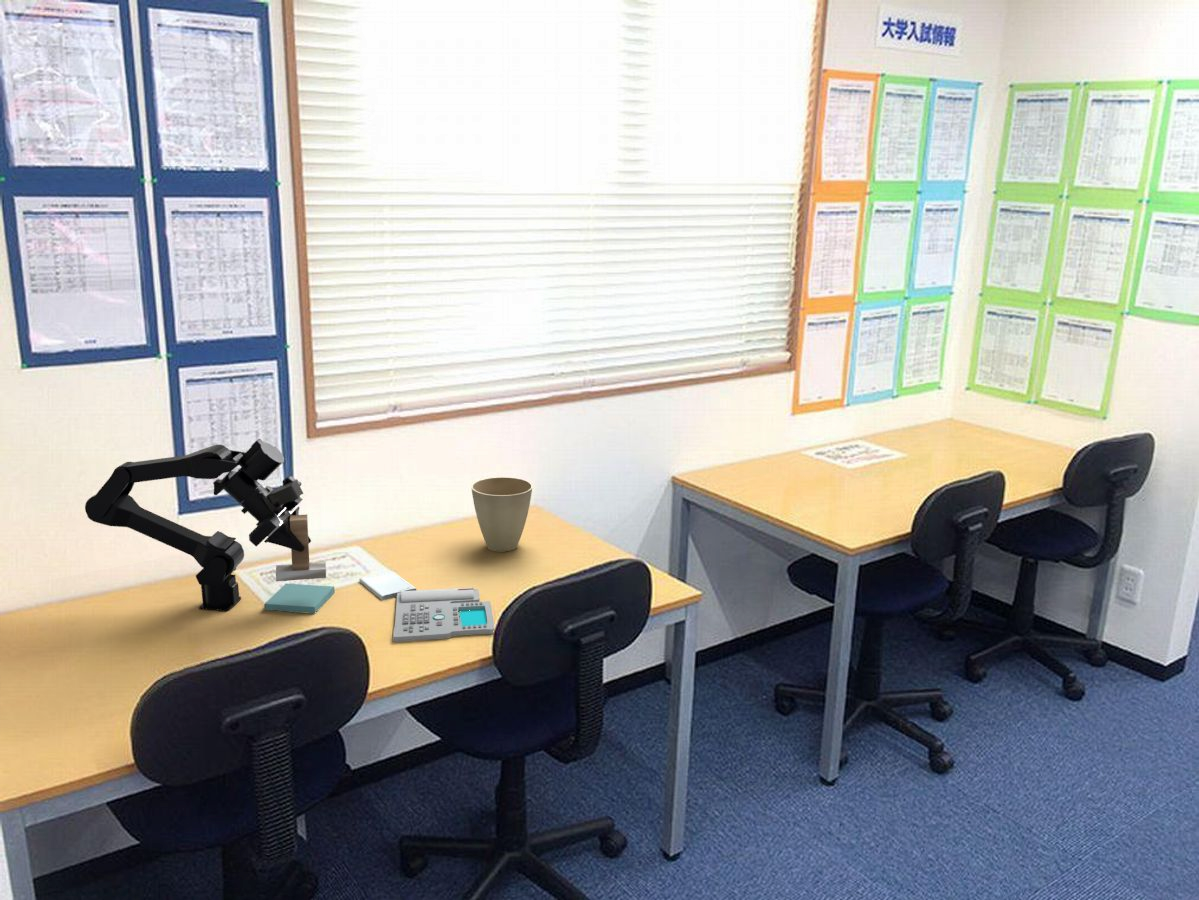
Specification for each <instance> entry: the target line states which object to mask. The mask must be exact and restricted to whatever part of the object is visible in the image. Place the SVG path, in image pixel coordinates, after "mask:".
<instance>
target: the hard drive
mask: <svg viewBox="0 0 1199 900" xmlns="http://www.w3.org/2000/svg"><path fill="white" fill-rule="evenodd" d="M358 580H359V583H361V584H362V585H363V586H364V587H365V588H366V589H367V590H369V591H370V592H371V593H372V594H373V595H375V596H377V598H379V599H380V600H381V601H385V600H388V599H393V598H397V593H399V592H402V591H416V590H417V588H416V587H414V586H413V585H412V584H411V583H410V582H408V581H406V580H405V579H404V578H402V577H401V576H400V575H399V574H397V573H396V572H395V571H392V570H389V571H385V572H379V573H378V574H377V573H376V574H371V575H367V576H364V577H360V578H359V579H358Z"/></svg>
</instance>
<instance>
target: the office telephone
mask: <svg viewBox="0 0 1199 900" xmlns="http://www.w3.org/2000/svg"><path fill="white" fill-rule="evenodd" d="M395 605H396V606H395V607H396V608H395V617H394V618H395V619H394V628H393V635H392V636H393V637H392V641H393V643H401V642H402V643H403V642H415V641H417V642H418V641H430V640H431V641H432V640H442V639H443V640H444V639H446V640H447V639H450V638H452V637H459V636H460V637H461V636H471V635H472V636H474V635H493V634H494V633H493V631H494V632H495V623H494V616H493V609H492V603H491V601H490V600H486V601H485V600H484V601H483V600H482V601H480V592H479V589H478V588H477V589H476V588H474V587H460V588H459V587H458V588H457V587H455V588H440V589H420V590H419V589H418V590H417V589H416V591H402V592H399V593H397V597H396V603H395ZM469 610H470V611H469ZM458 611H459V612H458ZM460 611H461V612H460ZM459 616H460V617H459Z"/></svg>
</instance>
